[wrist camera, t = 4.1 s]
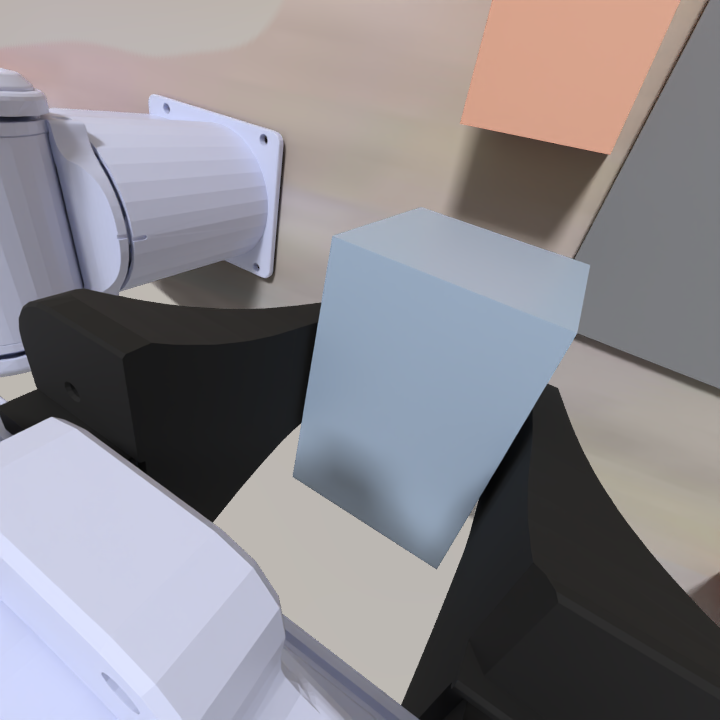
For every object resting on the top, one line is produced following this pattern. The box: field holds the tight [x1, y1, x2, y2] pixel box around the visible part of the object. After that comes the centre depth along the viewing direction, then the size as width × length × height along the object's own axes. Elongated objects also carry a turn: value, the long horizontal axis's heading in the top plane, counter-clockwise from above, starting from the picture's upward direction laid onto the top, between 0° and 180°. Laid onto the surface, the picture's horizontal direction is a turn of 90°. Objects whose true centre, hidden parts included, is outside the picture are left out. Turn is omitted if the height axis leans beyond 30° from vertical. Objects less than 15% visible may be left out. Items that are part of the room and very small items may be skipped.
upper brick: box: [460, 0, 681, 155], centre depth 12 cm, size 4×7×4 cm, turn 171°
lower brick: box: [293, 207, 590, 569], centre depth 11 cm, size 4×7×4 cm, turn 168°
